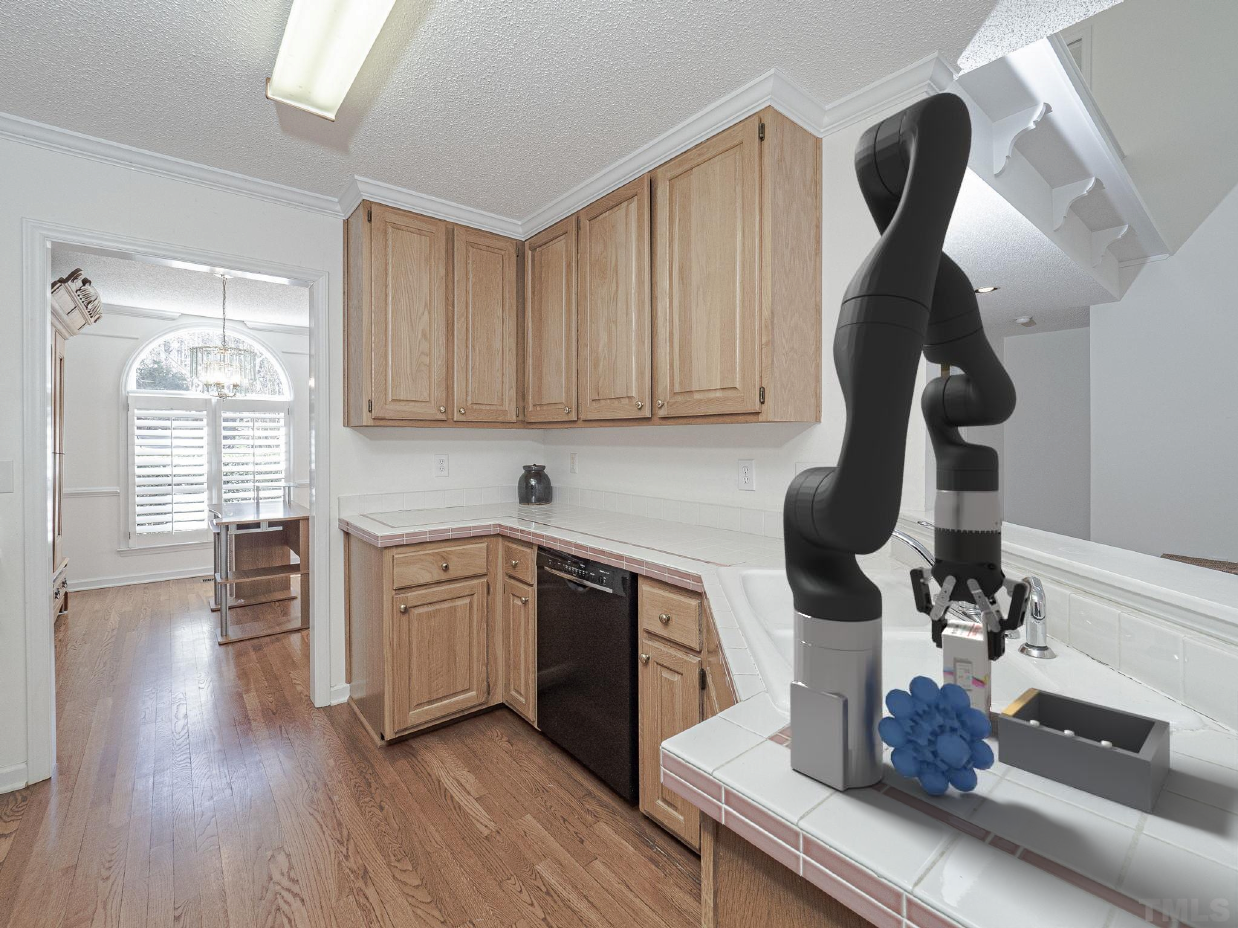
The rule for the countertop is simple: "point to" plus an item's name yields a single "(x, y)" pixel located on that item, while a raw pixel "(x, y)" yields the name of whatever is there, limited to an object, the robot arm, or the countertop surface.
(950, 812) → the countertop surface
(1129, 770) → the cartridge dock
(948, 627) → the ink cartridge box
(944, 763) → the blue flower
